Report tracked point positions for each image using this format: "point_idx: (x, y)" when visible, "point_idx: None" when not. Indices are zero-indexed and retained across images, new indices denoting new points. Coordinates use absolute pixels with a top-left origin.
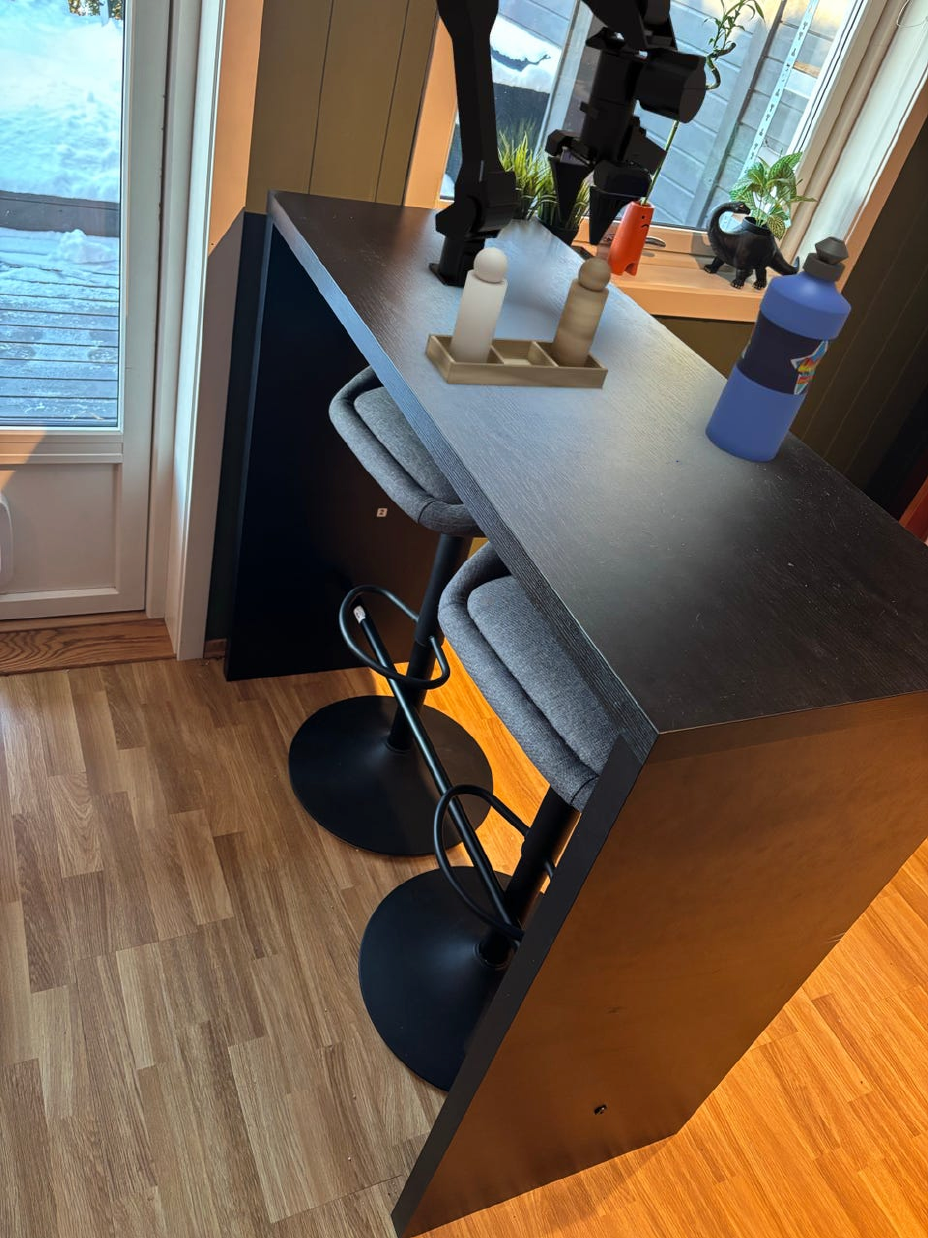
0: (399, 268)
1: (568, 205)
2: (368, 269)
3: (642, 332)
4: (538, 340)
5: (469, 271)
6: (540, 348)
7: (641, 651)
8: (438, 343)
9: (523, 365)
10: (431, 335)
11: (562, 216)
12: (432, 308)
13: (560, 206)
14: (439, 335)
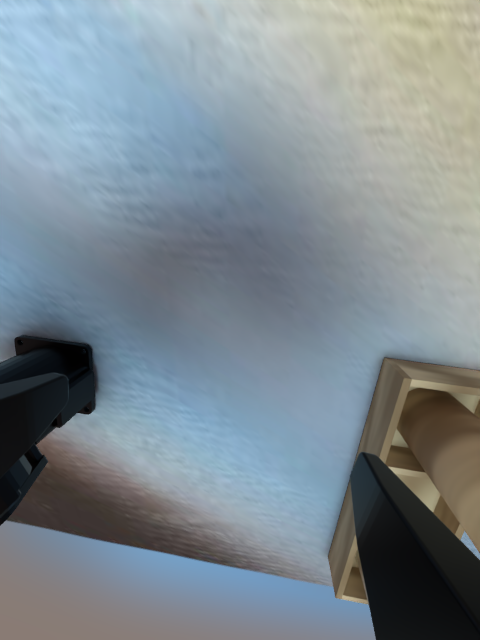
0: (50, 447)
1: (2, 431)
2: (67, 491)
3: (261, 38)
4: (380, 456)
5: None
6: (410, 472)
7: None
8: (364, 601)
9: (457, 533)
10: (339, 596)
11: (52, 413)
12: (181, 470)
13: (15, 459)
14: (341, 588)
